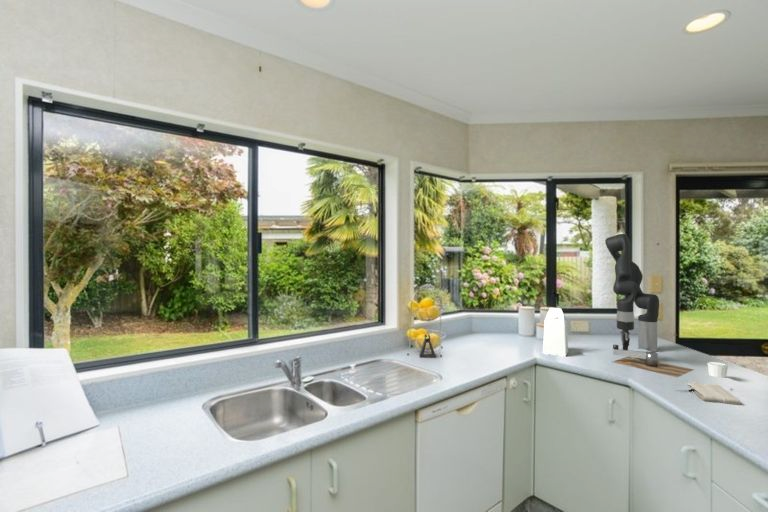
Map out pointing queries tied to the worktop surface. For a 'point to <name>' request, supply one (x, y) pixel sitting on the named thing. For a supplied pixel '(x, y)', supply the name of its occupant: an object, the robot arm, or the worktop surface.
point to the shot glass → (717, 369)
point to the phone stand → (424, 349)
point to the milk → (555, 333)
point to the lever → (638, 355)
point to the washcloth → (713, 393)
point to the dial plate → (661, 367)
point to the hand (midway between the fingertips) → (625, 352)
